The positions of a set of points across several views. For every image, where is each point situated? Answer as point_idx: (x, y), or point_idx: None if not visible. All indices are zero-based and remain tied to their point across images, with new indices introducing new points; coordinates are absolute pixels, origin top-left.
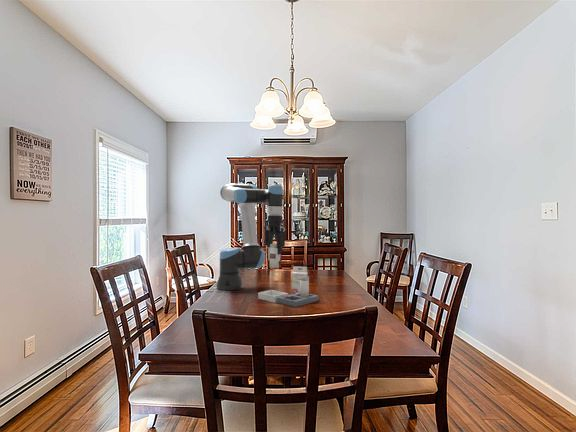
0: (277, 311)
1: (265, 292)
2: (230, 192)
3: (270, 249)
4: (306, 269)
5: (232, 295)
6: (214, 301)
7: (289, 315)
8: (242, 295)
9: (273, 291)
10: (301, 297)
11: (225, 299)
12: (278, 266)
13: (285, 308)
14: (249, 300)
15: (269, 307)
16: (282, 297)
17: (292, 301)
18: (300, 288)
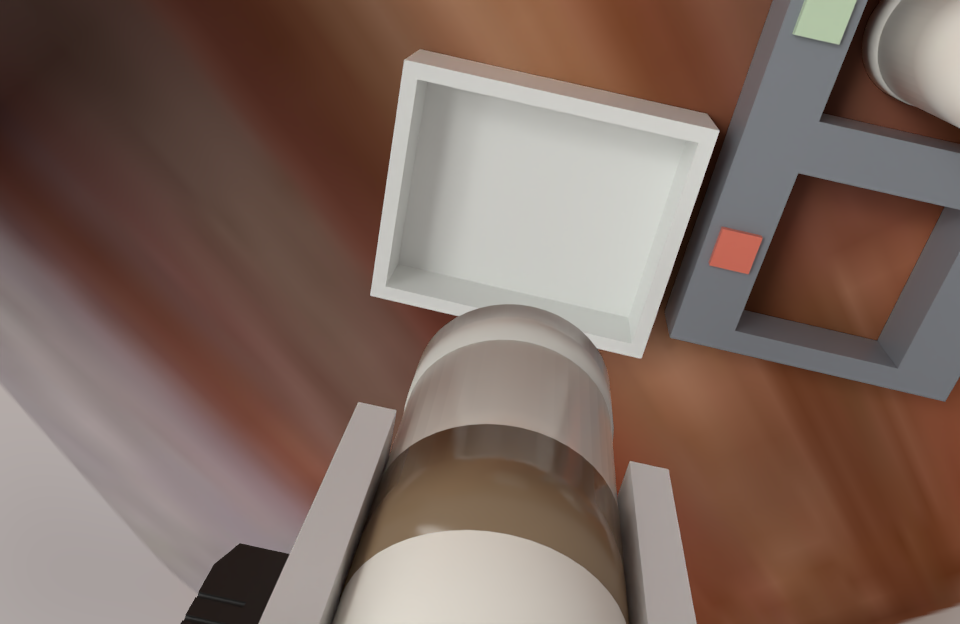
0: (805, 552)
1: (402, 190)
2: None
3: None
4: None
5: (79, 277)
6: (158, 517)
7: (949, 602)
8: (152, 225)
9: (455, 84)
10: (955, 192)
11: (167, 431)
12: (608, 385)
13: (836, 453)
14: (365, 364)
15: (679, 483)
16: (720, 305)
17: (895, 387)
18: (954, 124)
